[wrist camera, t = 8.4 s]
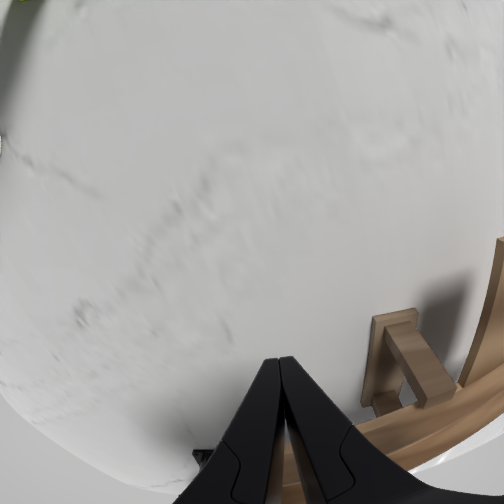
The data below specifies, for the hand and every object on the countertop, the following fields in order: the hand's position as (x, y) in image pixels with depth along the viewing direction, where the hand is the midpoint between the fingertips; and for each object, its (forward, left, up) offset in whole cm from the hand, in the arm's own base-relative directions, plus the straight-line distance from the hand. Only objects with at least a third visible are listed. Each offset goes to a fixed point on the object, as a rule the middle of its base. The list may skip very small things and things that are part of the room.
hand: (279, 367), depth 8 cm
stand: (-13, -10, -12) cm, 20 cm away
